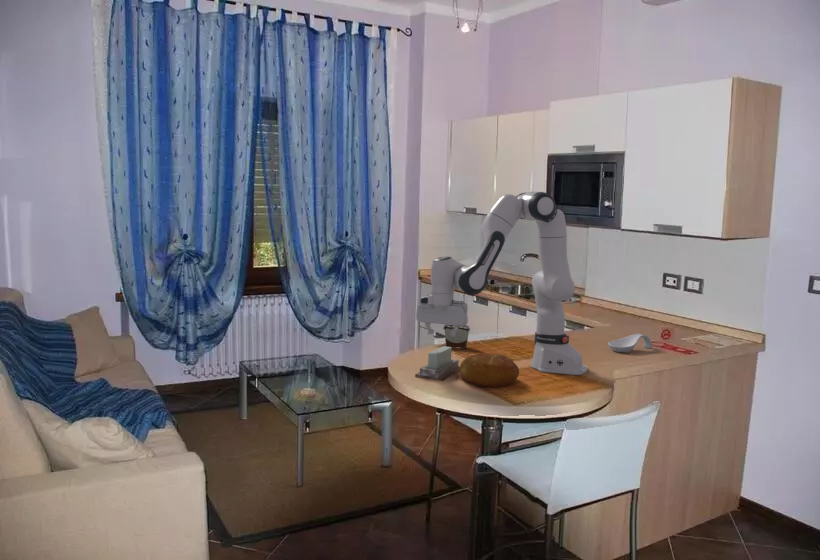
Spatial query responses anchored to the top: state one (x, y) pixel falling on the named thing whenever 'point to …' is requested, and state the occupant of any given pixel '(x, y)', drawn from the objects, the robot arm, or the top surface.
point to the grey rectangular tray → (439, 371)
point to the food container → (460, 337)
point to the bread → (489, 370)
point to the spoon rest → (629, 343)
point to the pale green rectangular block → (439, 357)
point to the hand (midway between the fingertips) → (441, 335)
